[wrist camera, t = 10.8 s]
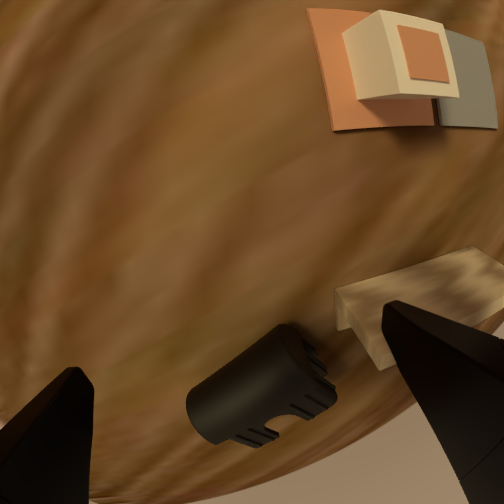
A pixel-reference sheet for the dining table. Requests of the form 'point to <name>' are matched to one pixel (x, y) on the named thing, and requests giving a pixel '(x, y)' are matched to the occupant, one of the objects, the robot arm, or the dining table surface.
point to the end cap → (261, 390)
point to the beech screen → (422, 296)
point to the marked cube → (400, 58)
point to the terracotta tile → (342, 86)
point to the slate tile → (469, 86)
